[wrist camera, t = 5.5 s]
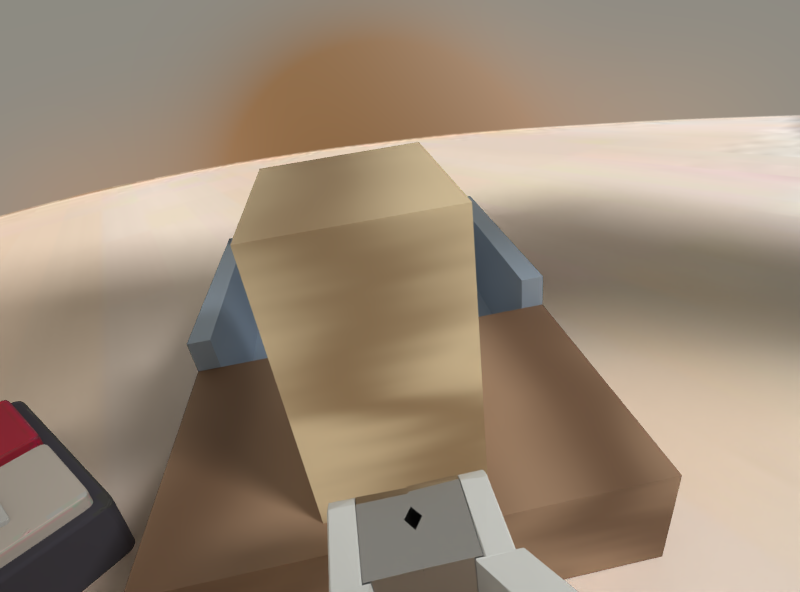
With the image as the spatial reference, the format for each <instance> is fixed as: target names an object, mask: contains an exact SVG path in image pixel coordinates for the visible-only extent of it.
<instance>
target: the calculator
mask: <svg viewBox="0 0 800 592" xmlns="http://www.w3.org/2000/svg"><path fill="white" fill-rule="evenodd" d="M134 544H135V539H134V537H133V535H132V533H131V532H130V530H129V528H128V526H127V524H126V522H125V520H124V519H123V517H122V515H121V513H120V511H119V509H118V507H117V506H116V504H115V502H114V500H113V499H112V497H111V496H110V495H109V493H108V492H107V491H106V490H105V489H104V488H103V487H102V486H101V485H100V484H99V483H98V482H97V481H96V479H95V478H94V477H93V476H92V475H91V474H90V473H89V472H88V471H87V470H86V469H85V468H84V467H83V466H82V464H81V463H80V462H79V461H78V460H77V459H76V458H75V457H74V456H73V455H72V454H71V453H70V452H69V450H68V449H67V448H66V447H65V446H64V445H63V444H62V443H61V442H60V441H59V440H58V439H57V438H56V436H55V435H54V434H53V433H52V432H51V431H50V430H49V429H48V428H47V427H46V426H45V425H44V424H43V422H42V421H41V420H40V419H39V418H38V417H37V416H36V415H35V414H34V413H33V412H32V411H31V410H30V409H29V407H28V406H27V405H26V404H25V403H23V402H21V401H17V402H13V403H10V402H9V401H7V400H4V401H1V402H0V592H82V591H83V590H84V589H86V588H87V587H88V586H89V585H90V584H92V583H93V582H94V581H95V580H96V579H98V578H99V577H100V576H101V575H102V574H104V573H105V572H106V571H107V570H109V569H110V568H111V567H112V566H113V565H115V564H116V563H117V562H118V561H119V560H121V559H122V558H123V557H124V556H125V555H126V554H128V553H129V552H130V551H131V549H132V548H133V546H134Z"/></svg>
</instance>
